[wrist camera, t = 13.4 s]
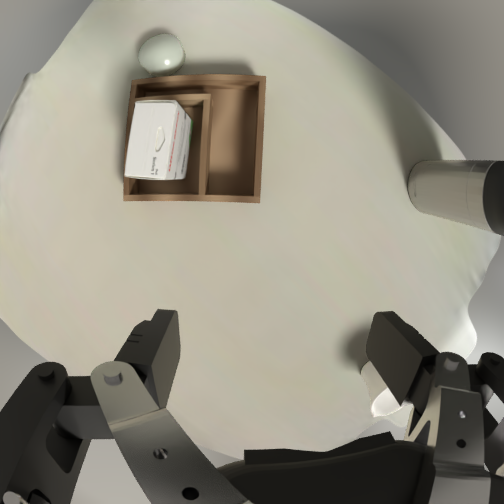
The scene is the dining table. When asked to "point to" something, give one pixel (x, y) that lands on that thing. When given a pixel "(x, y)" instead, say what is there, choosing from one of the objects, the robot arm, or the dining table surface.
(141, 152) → the ink box
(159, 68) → the white domed round part
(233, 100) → the organizer
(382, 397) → the cup
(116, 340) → the dining table surface
